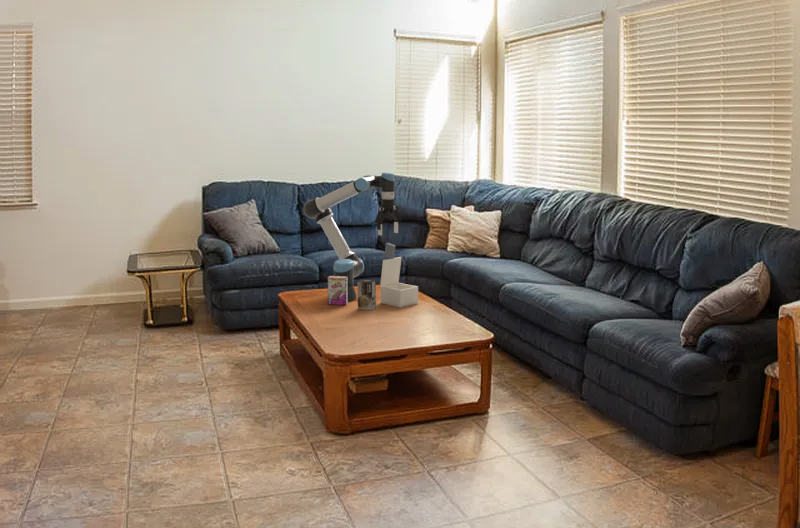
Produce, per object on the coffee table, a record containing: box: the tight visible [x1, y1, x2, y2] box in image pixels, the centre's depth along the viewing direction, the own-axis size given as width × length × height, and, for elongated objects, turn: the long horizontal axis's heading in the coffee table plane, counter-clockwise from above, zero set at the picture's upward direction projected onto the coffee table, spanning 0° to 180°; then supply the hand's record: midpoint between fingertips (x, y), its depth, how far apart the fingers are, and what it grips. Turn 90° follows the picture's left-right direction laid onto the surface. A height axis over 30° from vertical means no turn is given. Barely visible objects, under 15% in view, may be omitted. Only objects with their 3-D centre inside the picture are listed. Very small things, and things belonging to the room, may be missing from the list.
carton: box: [380, 282, 419, 308], centre depth 456 cm, size 16×15×10 cm
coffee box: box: [356, 279, 377, 311], centre depth 442 cm, size 9×6×16 cm
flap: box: [379, 242, 402, 287], centre depth 459 cm, size 24×15×6 cm
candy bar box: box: [327, 275, 349, 306], centre depth 453 cm, size 11×5×16 cm, turn 84°
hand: (388, 234), depth 466 cm, fingers open, 13 cm apart
